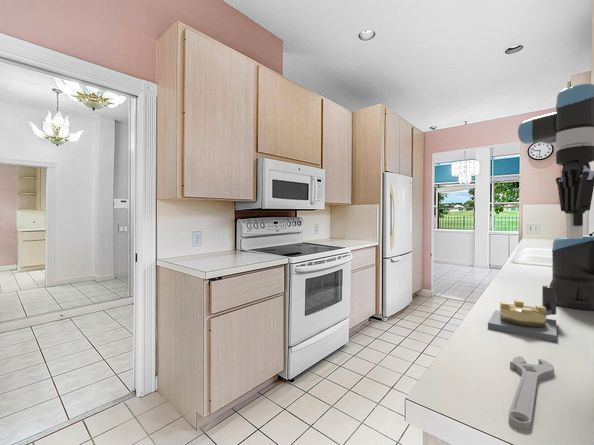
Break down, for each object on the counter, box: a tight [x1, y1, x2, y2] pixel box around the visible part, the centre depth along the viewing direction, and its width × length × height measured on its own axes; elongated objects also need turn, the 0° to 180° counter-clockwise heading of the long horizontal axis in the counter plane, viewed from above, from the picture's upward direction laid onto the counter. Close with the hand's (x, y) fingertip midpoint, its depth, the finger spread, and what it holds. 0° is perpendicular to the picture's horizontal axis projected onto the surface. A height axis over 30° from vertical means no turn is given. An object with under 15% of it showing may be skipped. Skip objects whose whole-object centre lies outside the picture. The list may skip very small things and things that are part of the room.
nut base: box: [487, 309, 558, 343], centre depth 83 cm, size 19×15×2 cm
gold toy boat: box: [499, 285, 557, 327], centre depth 82 cm, size 18×10×8 cm, turn 109°
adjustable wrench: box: [508, 355, 555, 431], centre depth 52 cm, size 25×6×2 cm, turn 133°
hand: (574, 238), depth 78 cm, fingers closed
